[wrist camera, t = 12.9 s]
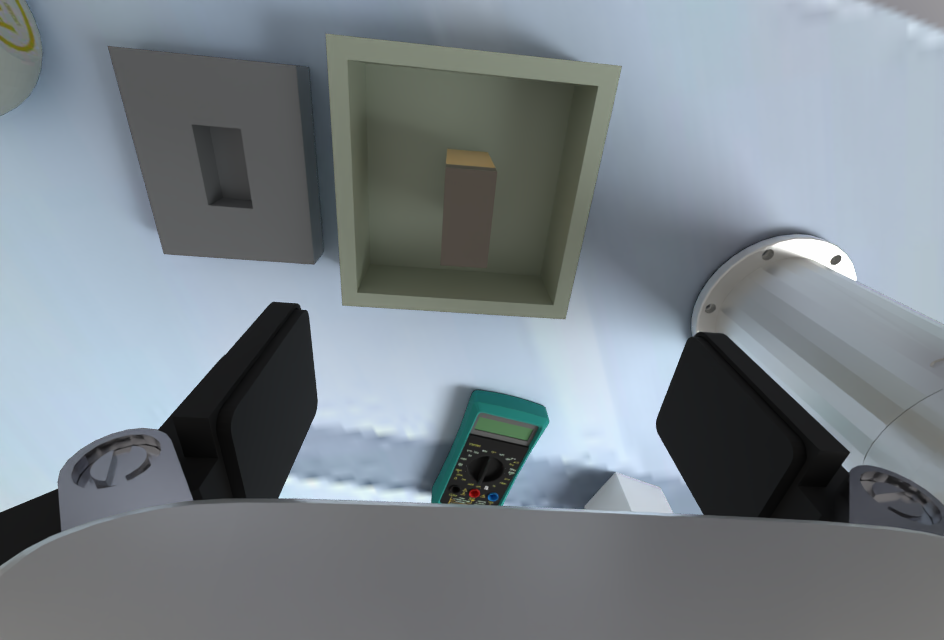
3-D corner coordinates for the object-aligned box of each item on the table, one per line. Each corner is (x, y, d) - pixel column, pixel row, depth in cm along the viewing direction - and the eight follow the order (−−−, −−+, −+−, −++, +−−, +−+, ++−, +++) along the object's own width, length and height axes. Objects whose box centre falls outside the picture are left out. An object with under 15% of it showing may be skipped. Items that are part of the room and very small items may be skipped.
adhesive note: (660, 486, 47) (686, 537, 41) (627, 519, 49) (648, 571, 44) (614, 471, 45) (636, 522, 40) (583, 505, 48) (600, 558, 42)
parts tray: (591, 68, 27) (621, 65, 22) (549, 285, 34) (565, 319, 29) (349, 42, 26) (325, 33, 21) (358, 272, 33) (342, 305, 28)
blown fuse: (485, 146, 29) (497, 171, 21) (478, 220, 31) (486, 268, 23) (447, 143, 28) (445, 167, 20) (443, 218, 31) (440, 265, 23)
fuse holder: (308, 66, 26) (295, 65, 24) (323, 252, 32) (314, 264, 30) (137, 49, 26) (107, 45, 23) (183, 242, 31) (163, 253, 29)
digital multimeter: (429, 489, 46) (428, 514, 43) (473, 383, 39) (475, 404, 37) (493, 501, 47) (496, 526, 45) (547, 401, 41) (553, 422, 38)
